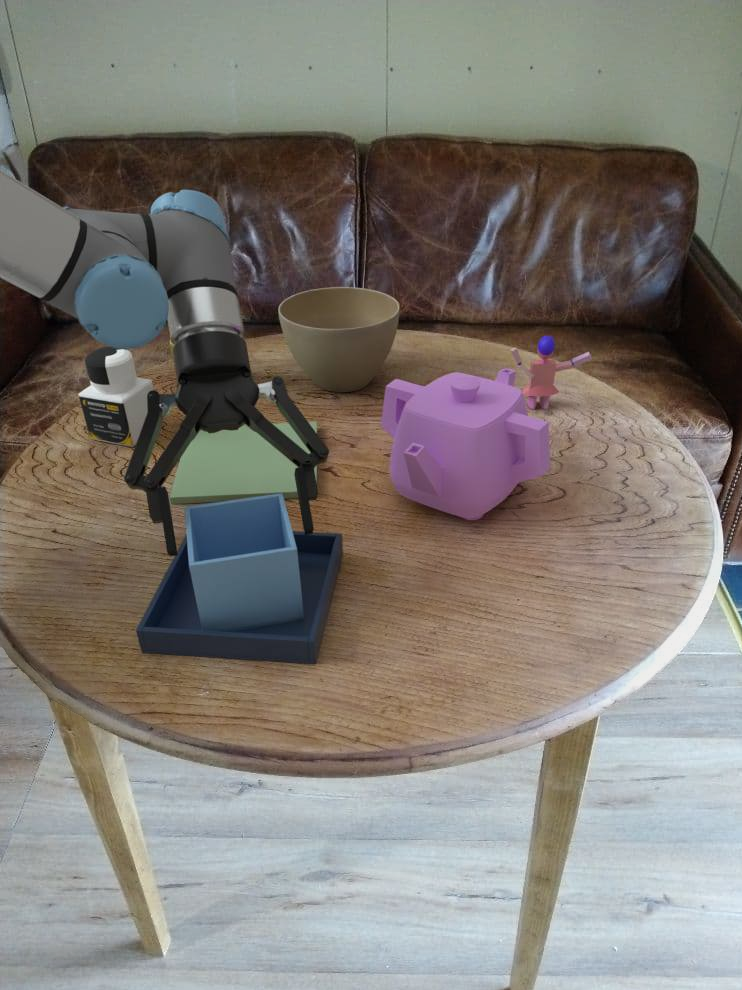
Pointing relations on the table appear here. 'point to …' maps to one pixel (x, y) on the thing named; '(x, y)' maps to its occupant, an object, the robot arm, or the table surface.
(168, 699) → the table surface
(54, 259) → the robot arm
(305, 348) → the beige bowl
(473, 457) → the teapot
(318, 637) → the lower bin
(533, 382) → the figurine
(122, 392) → the medicine bottle
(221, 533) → the upper bin
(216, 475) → the mat
